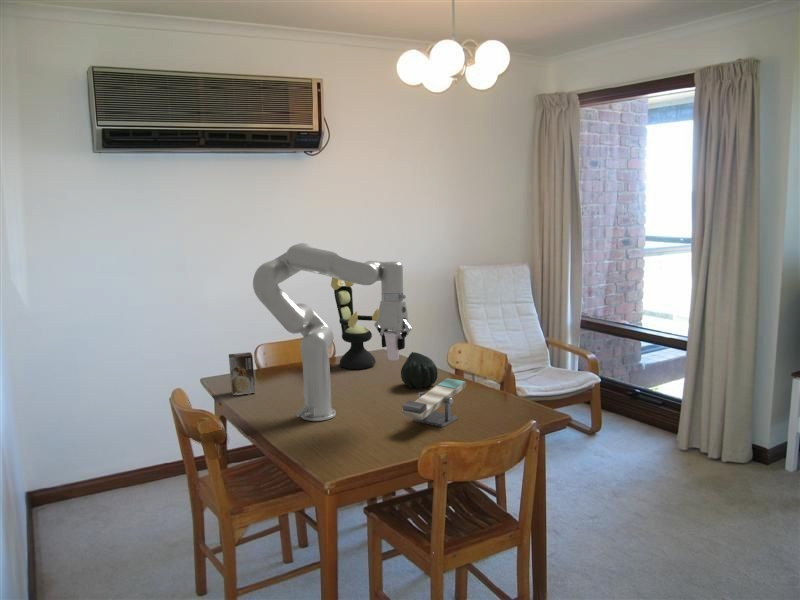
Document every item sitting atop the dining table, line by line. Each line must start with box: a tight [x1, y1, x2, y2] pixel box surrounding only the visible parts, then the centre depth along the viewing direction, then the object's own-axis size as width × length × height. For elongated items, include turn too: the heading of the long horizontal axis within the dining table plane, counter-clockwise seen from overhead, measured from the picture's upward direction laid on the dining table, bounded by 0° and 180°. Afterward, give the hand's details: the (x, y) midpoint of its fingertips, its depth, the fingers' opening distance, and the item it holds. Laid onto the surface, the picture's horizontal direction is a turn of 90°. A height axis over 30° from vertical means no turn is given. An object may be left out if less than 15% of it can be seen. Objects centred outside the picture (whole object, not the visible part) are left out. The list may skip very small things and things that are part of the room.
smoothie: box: [384, 330, 402, 361], centre depth 233 cm, size 6×6×14 cm
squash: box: [400, 351, 438, 390], centre depth 273 cm, size 14×15×15 cm
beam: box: [401, 377, 467, 420], centre depth 231 cm, size 29×8×4 cm, turn 144°
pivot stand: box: [412, 391, 458, 428], centre depth 232 cm, size 10×14×9 cm
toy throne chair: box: [330, 277, 379, 370], centre depth 306 cm, size 19×22×45 cm
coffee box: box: [228, 351, 256, 395], centre depth 268 cm, size 9×6×16 cm
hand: (393, 347), depth 233 cm, fingers closed on smoothie, 6 cm apart
